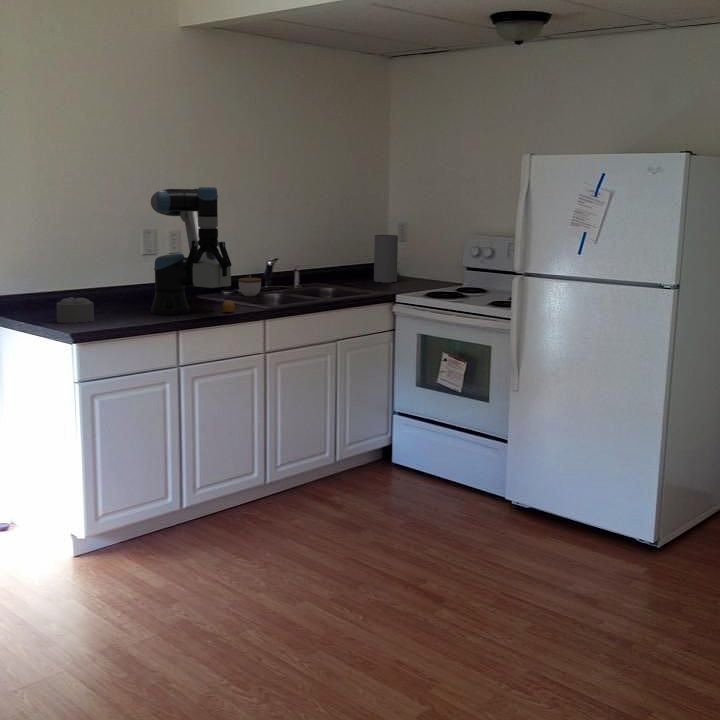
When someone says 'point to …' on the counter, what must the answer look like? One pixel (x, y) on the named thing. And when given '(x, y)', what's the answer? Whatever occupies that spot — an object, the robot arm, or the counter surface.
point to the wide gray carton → (209, 275)
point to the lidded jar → (249, 286)
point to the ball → (228, 306)
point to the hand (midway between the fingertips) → (209, 284)
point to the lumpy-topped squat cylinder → (74, 310)
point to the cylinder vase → (385, 258)
